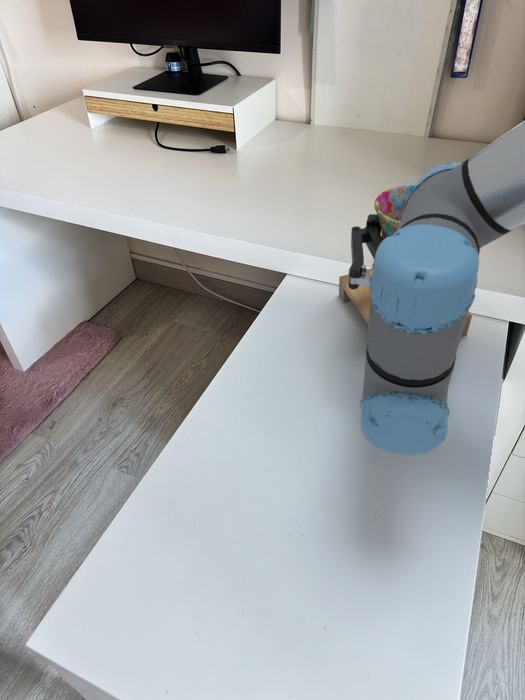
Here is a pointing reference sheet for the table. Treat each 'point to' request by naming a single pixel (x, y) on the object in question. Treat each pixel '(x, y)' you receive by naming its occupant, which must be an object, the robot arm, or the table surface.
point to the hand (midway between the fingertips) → (410, 207)
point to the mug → (391, 208)
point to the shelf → (363, 298)
